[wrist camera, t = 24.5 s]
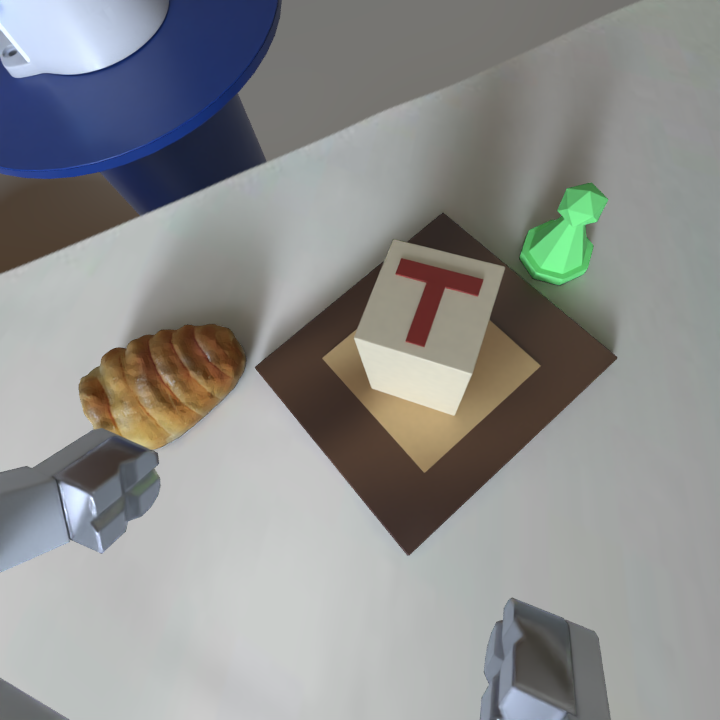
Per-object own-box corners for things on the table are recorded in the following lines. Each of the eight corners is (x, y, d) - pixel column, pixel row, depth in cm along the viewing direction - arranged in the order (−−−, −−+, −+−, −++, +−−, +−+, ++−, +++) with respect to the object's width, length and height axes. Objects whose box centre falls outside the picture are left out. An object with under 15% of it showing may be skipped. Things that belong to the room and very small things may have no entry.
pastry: (224, 309, 30) (198, 282, 26) (268, 391, 27) (246, 374, 24) (100, 380, 29) (55, 362, 25) (134, 471, 27) (90, 465, 23)
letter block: (371, 388, 26) (352, 336, 18) (398, 314, 27) (392, 236, 19) (454, 416, 25) (472, 373, 17) (479, 337, 26) (506, 265, 18)
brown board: (258, 370, 28) (253, 366, 27) (442, 219, 30) (443, 210, 29) (408, 555, 23) (408, 556, 22) (612, 361, 25) (619, 356, 25)
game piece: (514, 229, 29) (538, 162, 23) (582, 224, 28) (624, 153, 23) (523, 288, 27) (551, 230, 22) (595, 282, 27) (643, 222, 21)
